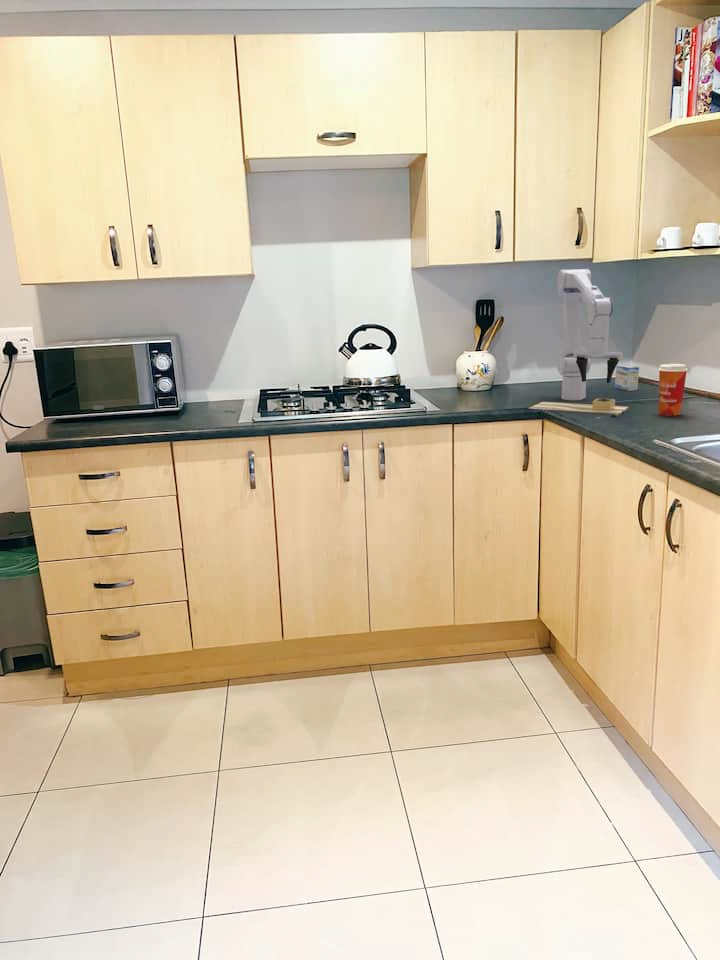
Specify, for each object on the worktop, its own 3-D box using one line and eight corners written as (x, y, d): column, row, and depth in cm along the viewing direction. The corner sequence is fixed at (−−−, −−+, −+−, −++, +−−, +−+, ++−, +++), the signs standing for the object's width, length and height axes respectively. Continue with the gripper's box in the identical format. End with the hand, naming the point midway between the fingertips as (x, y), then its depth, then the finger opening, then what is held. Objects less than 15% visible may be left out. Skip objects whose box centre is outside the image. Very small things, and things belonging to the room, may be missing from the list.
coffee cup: (648, 413, 222) (652, 364, 218) (670, 411, 224) (673, 362, 220) (669, 418, 214) (673, 367, 210) (690, 415, 217) (695, 365, 213)
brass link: (597, 407, 230) (597, 398, 229) (614, 408, 227) (615, 399, 226) (592, 409, 226) (592, 401, 225) (610, 411, 223) (610, 402, 222)
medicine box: (614, 388, 274) (615, 365, 271) (624, 387, 275) (625, 364, 273) (627, 391, 266) (629, 367, 264) (637, 390, 268) (639, 366, 265)
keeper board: (542, 404, 244) (543, 391, 243) (628, 409, 229) (629, 395, 228) (528, 411, 233) (528, 397, 232) (617, 417, 218) (618, 402, 217)
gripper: (571, 338, 223) (569, 382, 227) (619, 339, 216) (616, 384, 220) (577, 336, 229) (575, 379, 233) (625, 337, 222) (622, 381, 225)
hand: (596, 381), depth 227 cm, fingers open, 7 cm apart
